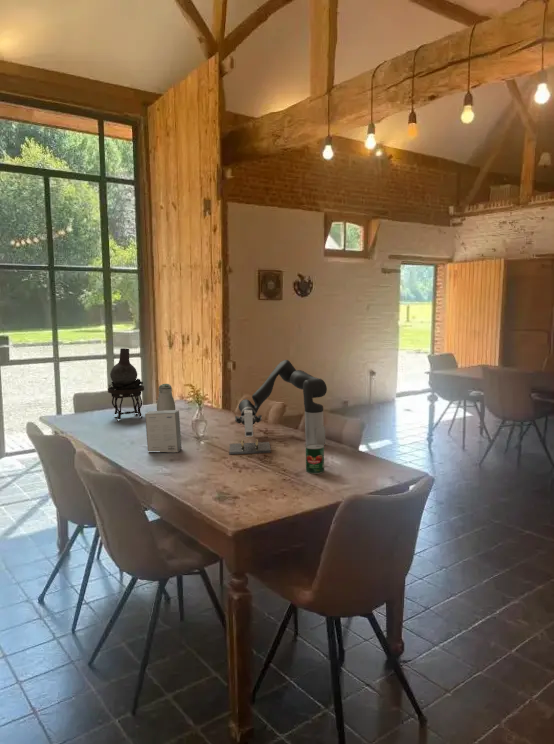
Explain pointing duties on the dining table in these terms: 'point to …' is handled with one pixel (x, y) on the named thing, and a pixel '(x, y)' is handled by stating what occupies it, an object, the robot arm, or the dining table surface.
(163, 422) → the hard drive box
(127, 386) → the brazier
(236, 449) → the pin tray
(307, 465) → the canned tomato
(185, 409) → the dining table surface
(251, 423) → the block
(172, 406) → the grey bottle
